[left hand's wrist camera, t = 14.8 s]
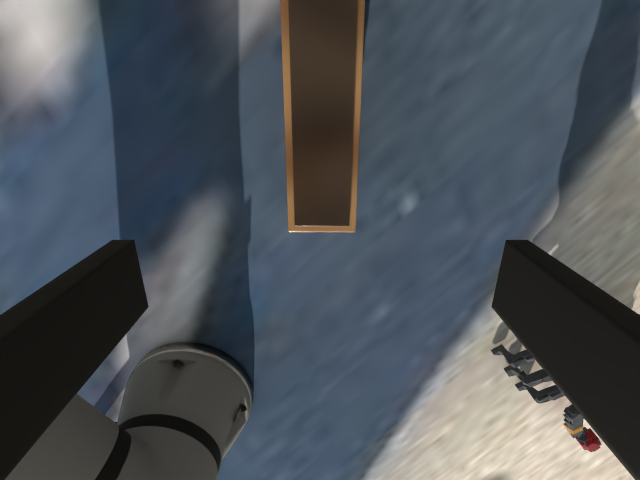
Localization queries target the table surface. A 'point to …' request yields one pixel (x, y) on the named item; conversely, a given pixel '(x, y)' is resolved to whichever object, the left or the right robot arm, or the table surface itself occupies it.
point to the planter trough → (322, 111)
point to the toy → (548, 396)
